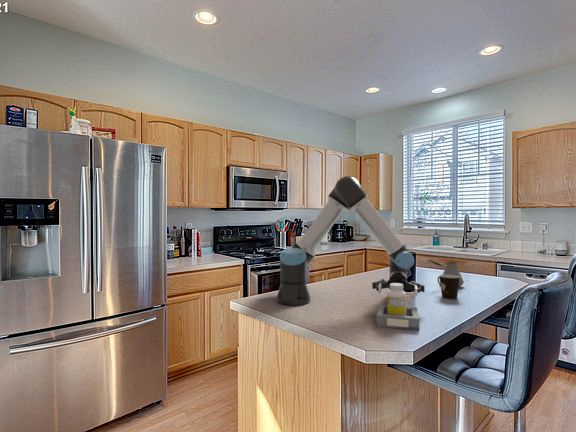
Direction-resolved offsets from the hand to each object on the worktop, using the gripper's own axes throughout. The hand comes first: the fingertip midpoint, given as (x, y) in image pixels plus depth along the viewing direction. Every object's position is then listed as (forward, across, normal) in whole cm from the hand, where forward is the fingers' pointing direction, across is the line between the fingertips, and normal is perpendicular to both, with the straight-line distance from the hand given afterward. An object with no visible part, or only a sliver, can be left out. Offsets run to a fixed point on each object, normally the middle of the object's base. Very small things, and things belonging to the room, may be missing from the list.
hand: (397, 291), depth 130 cm
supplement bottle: (+7, 0, -9) cm, 11 cm away
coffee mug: (-38, -22, -10) cm, 45 cm away
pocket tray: (+7, 0, -10) cm, 12 cm away
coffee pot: (-60, -23, -10) cm, 65 cm away
